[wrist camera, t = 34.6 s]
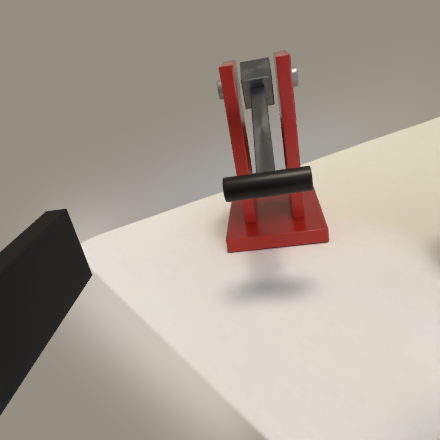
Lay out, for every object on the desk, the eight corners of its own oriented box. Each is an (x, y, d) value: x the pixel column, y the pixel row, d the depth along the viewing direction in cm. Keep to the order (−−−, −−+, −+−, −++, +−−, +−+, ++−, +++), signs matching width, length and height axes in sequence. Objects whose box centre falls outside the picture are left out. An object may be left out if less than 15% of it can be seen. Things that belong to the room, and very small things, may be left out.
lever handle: (313, 201, 22) (312, 171, 20) (228, 212, 23) (220, 184, 21) (289, 82, 31) (287, 53, 29) (227, 92, 31) (222, 65, 30)
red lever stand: (329, 241, 30) (317, 51, 24) (228, 252, 31) (192, 74, 25) (314, 196, 38) (302, 45, 32) (234, 206, 39) (208, 62, 33)
